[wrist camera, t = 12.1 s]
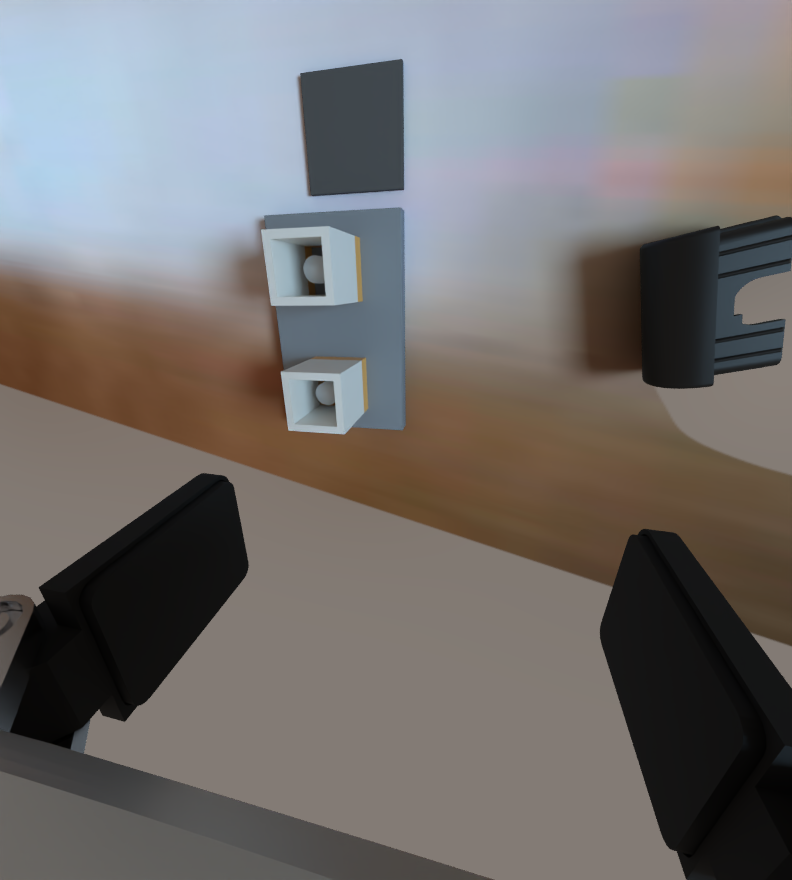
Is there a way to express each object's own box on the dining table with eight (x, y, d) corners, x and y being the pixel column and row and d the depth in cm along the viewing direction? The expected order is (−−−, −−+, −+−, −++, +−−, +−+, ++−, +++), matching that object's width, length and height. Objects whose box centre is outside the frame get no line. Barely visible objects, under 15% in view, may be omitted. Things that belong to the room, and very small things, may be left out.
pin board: (272, 218, 34) (236, 207, 29) (404, 210, 31) (389, 197, 26) (297, 418, 41) (271, 437, 36) (405, 424, 39) (393, 445, 34)
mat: (302, 75, 29) (300, 73, 29) (403, 61, 28) (402, 59, 27) (312, 195, 32) (310, 194, 32) (403, 189, 31) (403, 188, 30)
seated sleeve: (304, 240, 32) (260, 229, 26) (359, 237, 31) (328, 226, 25) (310, 301, 34) (271, 305, 28) (362, 301, 33) (334, 305, 27)
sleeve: (316, 356, 36) (280, 371, 30) (365, 357, 35) (340, 373, 29) (320, 406, 38) (288, 430, 32) (368, 408, 37) (344, 434, 31)
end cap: (624, 249, 29) (661, 240, 23) (733, 221, 27) (805, 203, 21) (628, 374, 33) (661, 395, 26) (726, 357, 31) (786, 376, 24)
